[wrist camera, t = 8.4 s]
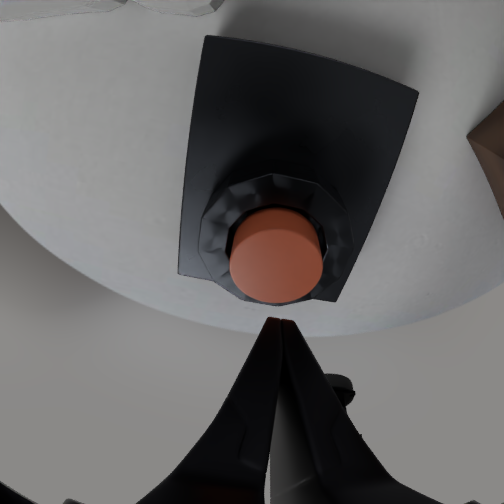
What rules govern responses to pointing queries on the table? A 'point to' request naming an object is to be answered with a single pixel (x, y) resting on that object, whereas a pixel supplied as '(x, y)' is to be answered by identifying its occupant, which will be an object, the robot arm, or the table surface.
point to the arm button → (276, 256)
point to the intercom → (98, 7)
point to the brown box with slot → (491, 151)
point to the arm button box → (287, 154)
